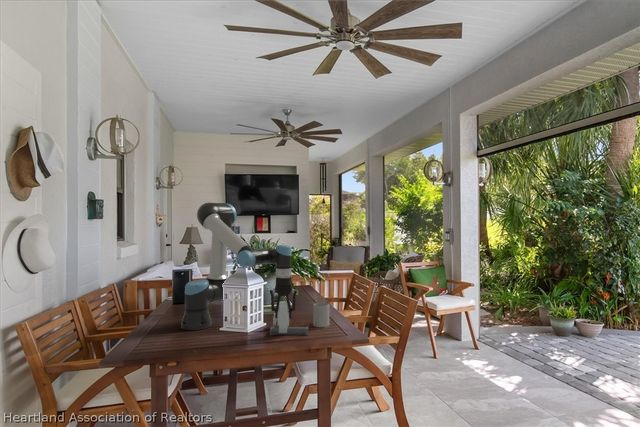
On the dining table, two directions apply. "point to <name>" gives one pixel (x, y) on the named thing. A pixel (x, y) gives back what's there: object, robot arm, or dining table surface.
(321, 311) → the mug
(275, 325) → the gauge cabinet
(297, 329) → the rail
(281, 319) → the block
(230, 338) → the dining table surface
